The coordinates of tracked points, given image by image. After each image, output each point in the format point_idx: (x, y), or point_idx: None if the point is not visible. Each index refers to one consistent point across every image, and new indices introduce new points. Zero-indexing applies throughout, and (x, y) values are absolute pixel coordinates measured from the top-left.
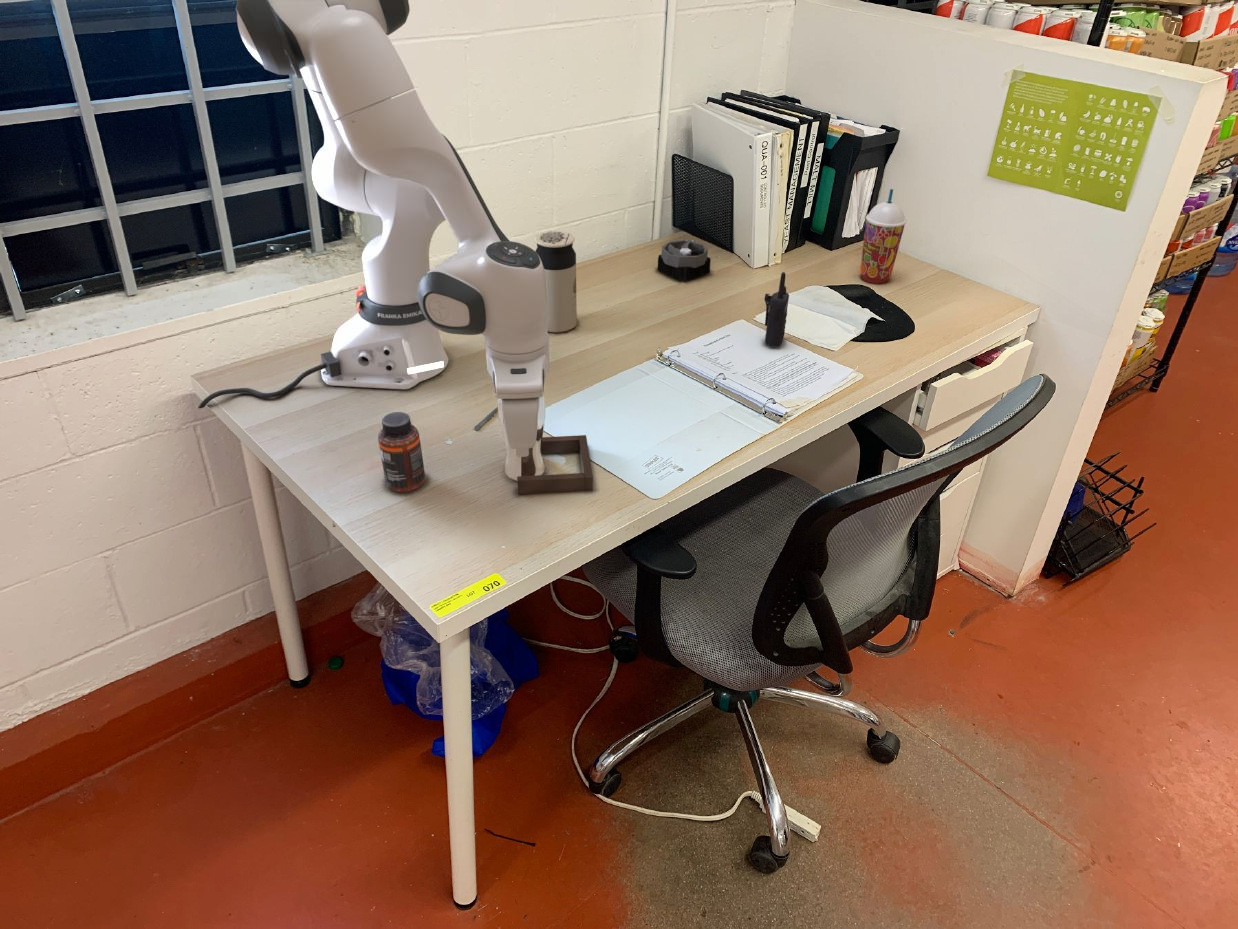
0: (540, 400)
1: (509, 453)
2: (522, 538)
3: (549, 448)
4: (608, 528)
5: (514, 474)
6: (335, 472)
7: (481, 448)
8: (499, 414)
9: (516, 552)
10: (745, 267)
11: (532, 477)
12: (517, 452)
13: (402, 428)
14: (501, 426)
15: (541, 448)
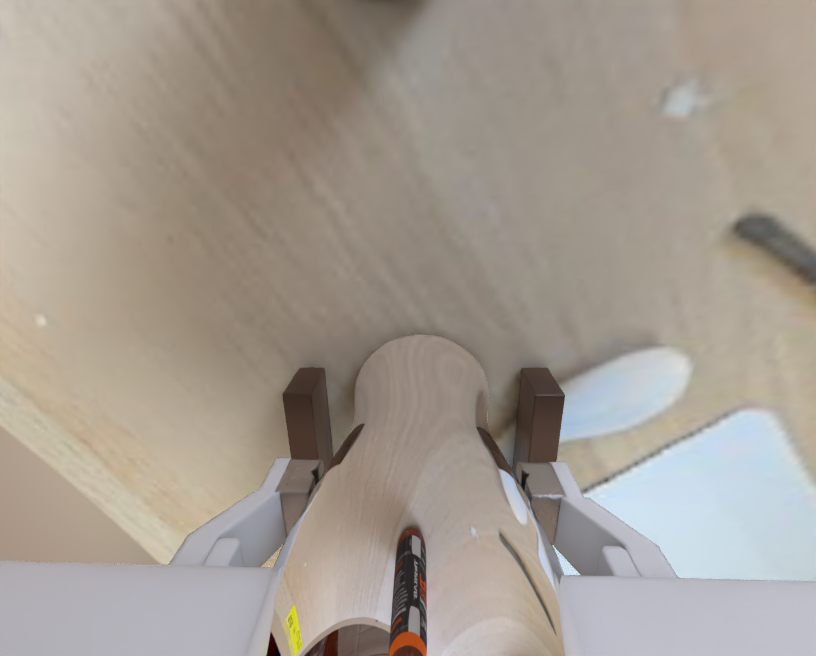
0: None
1: (371, 403)
2: (90, 373)
3: (517, 478)
4: (168, 561)
5: (362, 374)
6: None
7: (597, 246)
8: (342, 542)
9: (25, 355)
10: None
11: (303, 441)
12: (269, 472)
13: None
14: (351, 476)
15: (519, 457)
